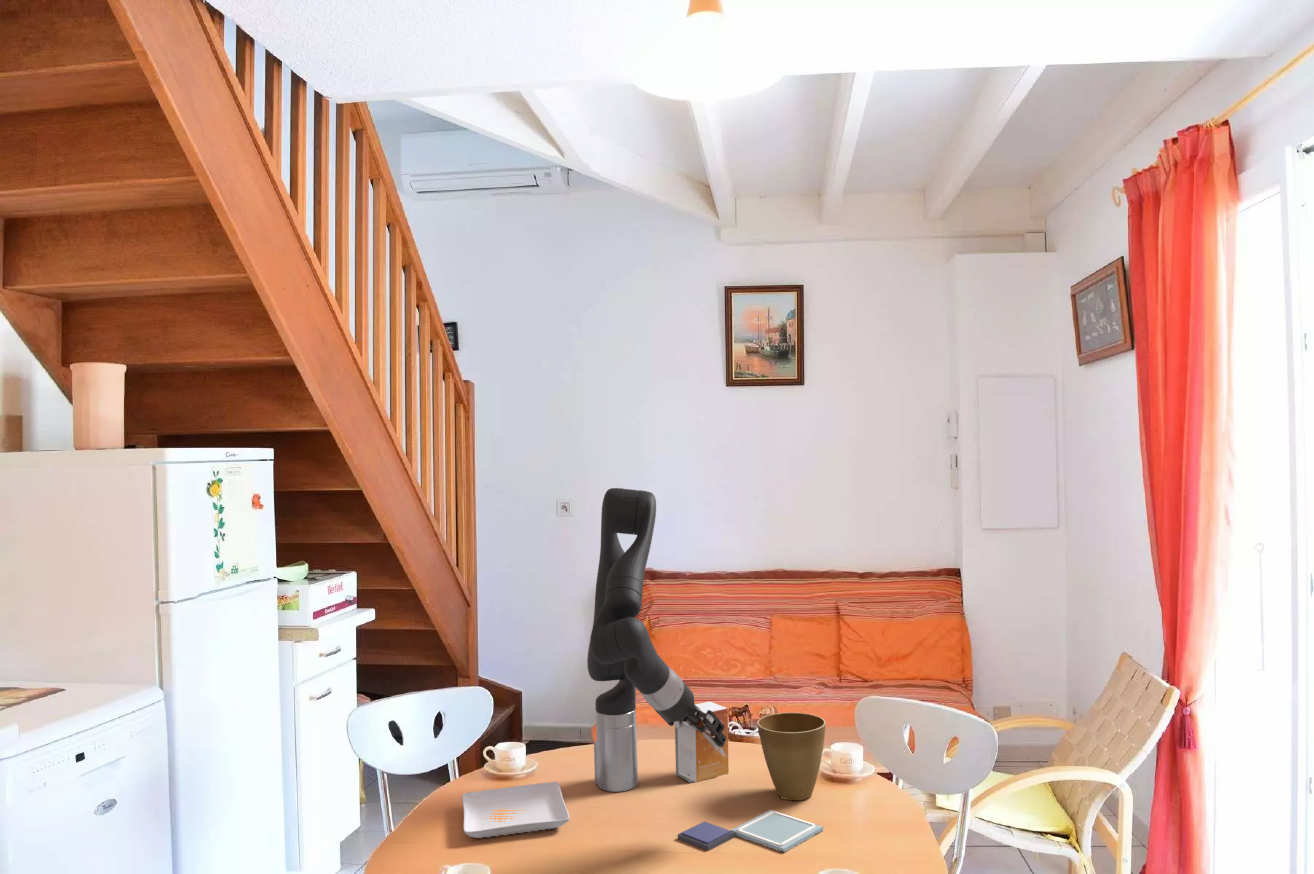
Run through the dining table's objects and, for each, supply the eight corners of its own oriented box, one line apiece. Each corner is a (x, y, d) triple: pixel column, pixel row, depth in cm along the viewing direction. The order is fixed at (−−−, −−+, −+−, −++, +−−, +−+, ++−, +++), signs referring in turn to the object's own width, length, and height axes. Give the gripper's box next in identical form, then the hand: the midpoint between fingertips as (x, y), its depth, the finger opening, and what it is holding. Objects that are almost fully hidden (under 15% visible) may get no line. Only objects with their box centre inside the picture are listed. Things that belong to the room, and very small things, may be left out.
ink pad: (677, 838, 177) (677, 832, 177) (704, 825, 183) (704, 819, 183) (708, 850, 172) (708, 844, 172) (735, 836, 177) (734, 830, 177)
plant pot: (820, 780, 206) (817, 710, 206) (834, 806, 191) (832, 730, 191) (755, 783, 205) (752, 712, 205) (764, 809, 190) (762, 733, 190)
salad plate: (464, 848, 177) (463, 830, 177) (462, 807, 197) (461, 791, 197) (571, 834, 182) (571, 817, 182) (558, 795, 202) (558, 780, 202)
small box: (696, 783, 172) (694, 714, 173) (677, 773, 178) (676, 707, 178) (730, 774, 177) (728, 707, 177) (710, 765, 182) (709, 700, 182)
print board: (730, 833, 179) (730, 828, 179) (770, 813, 188) (770, 808, 188) (784, 853, 170) (784, 847, 170) (823, 830, 179) (823, 825, 179)
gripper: (703, 681, 167) (744, 729, 175) (648, 669, 177) (690, 715, 185) (684, 716, 163) (727, 763, 172) (629, 702, 173) (673, 748, 182)
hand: (708, 738), depth 178 cm, fingers closed on small box, 7 cm apart
